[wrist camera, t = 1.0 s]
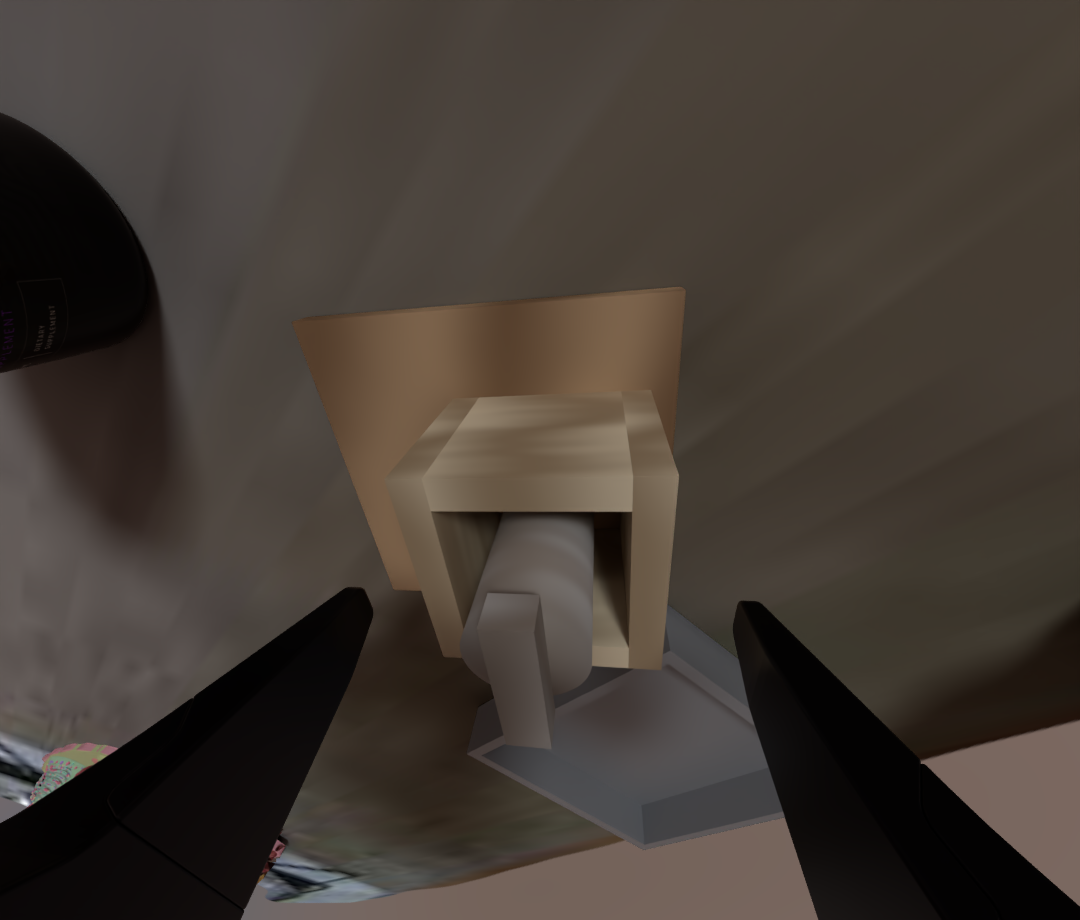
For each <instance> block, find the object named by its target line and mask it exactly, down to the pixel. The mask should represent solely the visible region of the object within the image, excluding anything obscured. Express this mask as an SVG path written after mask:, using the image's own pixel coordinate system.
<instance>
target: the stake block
mask: <svg viewBox="0 0 1080 920" xmlns="http://www.w3.org/2000/svg"><path fill="white" fill-rule="evenodd" d="M685 294H686V290H685V289H683V288H682V287H670V288H658V289H645V290H633V291H621V292H609V293H597V294H584V295H572V296H560V297H548V298H535V299H523V300H511V301H499V302H487V303H474V304H462V305H450V306H438V307H426V308H413V309H401V310H389V311H377V312H364V313H352V314H340V315H328V316H316V317H306V318H303V319H300V320H296V321H293V322H292V324H293V327H294V330H295V332H296V335H297V337H298V340H299V343H300V345H301V348H302V351H303V353H304V356H305V358H306V361H307V364H308V366H309V369H310V371H311V374H312V377H313V379H314V382H315V385H316V387H317V390H318V392H319V395H320V398H321V400H322V403H323V406H324V408H325V411H326V413H327V416H328V419H329V421H330V424H331V426H332V429H333V432H334V434H335V437H336V440H337V442H338V445H339V447H340V450H341V453H342V455H343V458H344V461H345V463H346V466H347V468H348V471H349V474H350V476H351V479H352V482H353V484H354V487H355V489H356V492H357V495H358V497H359V500H360V502H361V505H362V508H363V510H364V513H365V516H366V518H367V521H368V523H369V526H370V529H371V531H372V534H373V537H374V539H375V542H376V544H377V547H378V550H379V552H380V555H381V557H382V560H383V563H384V565H385V568H386V571H387V573H388V576H389V578H390V581H391V584H392V586H393V589H394V590H414V591H421V588H420V585H419V582H418V579H417V576H416V573H415V570H414V567H413V564H412V561H411V558H410V555H409V552H408V549H407V546H406V543H405V540H404V537H403V534H402V531H401V528H400V525H399V522H398V519H397V516H396V513H395V510H394V507H393V504H392V501H391V498H390V495H389V492H388V489H387V486H386V483H385V480H384V479H385V478H386V476H387V475H388V474H389V473H390V472H391V471H392V469H393V468H394V467H395V466H396V465H397V464H398V462H399V461H400V460H401V459H402V458H403V457H404V455H405V454H406V453H407V452H408V451H409V450H410V448H411V447H412V446H413V445H414V444H415V443H416V441H417V440H418V439H419V438H420V437H421V436H422V434H423V433H424V432H425V431H426V430H427V429H428V427H429V426H430V425H431V424H432V423H433V422H434V420H435V419H436V418H437V417H438V416H439V415H440V413H441V412H442V411H443V410H444V409H445V408H446V406H447V405H448V404H449V403H450V402H451V401H452V399H457V398H479V397H502V396H525V395H548V394H570V393H593V392H616V391H639V390H651V392H652V395H653V398H654V401H655V404H656V407H657V410H658V413H659V416H660V419H661V422H662V425H663V428H664V431H665V435H666V438H667V441H668V444H669V447H670V450H671V453H672V456H673V445H674V432H675V419H676V407H677V394H678V382H679V369H680V356H681V344H682V331H683V319H684V306H685ZM499 513H500V518H501V520H500V523H499V526H498V529H497V532H496V535H495V538H494V541H493V544H492V547H491V550H490V553H489V556H488V559H487V562H486V565H485V568H484V571H483V574H482V577H481V580H480V583H479V586H478V589H477V592H476V595H475V598H474V601H473V604H472V607H471V610H470V613H469V616H468V619H467V622H466V625H465V627H464V630H463V633H462V636H461V640H460V652H461V655H462V658H463V660H464V662H465V663H466V665H467V666H468V667H469V669H470V670H471V671H472V672H473V673H474V674H475V675H477V676H478V677H479V678H480V679H482V680H483V681H485V682H486V683H488V684H490V685H491V688H492V692H493V696H494V700H495V703H496V707H497V711H498V715H499V719H500V723H501V727H502V731H503V735H504V738H505V742H506V745H512V746H523V747H534V748H544V749H552V741H553V729H554V718H555V705H554V698H553V696H554V695H559V694H563V693H566V692H569V691H571V690H573V689H575V688H577V687H578V686H580V685H581V684H582V683H583V682H584V681H585V680H586V679H587V677H588V676H589V674H590V672H591V668H592V633H593V565H594V529H620V512H499Z"/></svg>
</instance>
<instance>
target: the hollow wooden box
mask: <svg viewBox="0 0 1080 920" xmlns="http://www.w3.org/2000/svg"><path fill="white" fill-rule="evenodd" d="M384 480H385V483H386V486H387V489H388V492H389V495H390V498H391V501H392V504H393V507H394V510H395V513H396V516H397V519H398V522H399V525H400V528H401V531H402V534H403V537H404V540H405V543H406V546H407V549H408V552H409V555H410V558H411V561H412V564H413V567H414V570H415V573H416V576H417V579H418V582H419V585H420V588H421V591H422V594H423V597H424V600H425V603H426V606H427V609H428V612H429V615H430V618H431V621H432V624H433V627H434V630H435V633H436V636H437V639H438V642H439V645H440V648H441V651H442V654H443V657H453V658H462V655H461V652H460V640H461V636H462V633H463V630H464V627H465V625H466V622H467V619H468V616H469V613H470V610H471V607H472V604H473V601H474V598H475V595H476V592H477V589H478V586H479V583H480V580H481V577H482V574H483V571H484V568H485V565H486V562H487V559H488V556H489V553H490V550H491V547H492V544H493V541H494V538H495V535H496V532H497V529H498V526H499V523H500V520H501V518H500V513H499V512H620V529H594V565H593V633H592V666H600V667H616V668H633V669H649V670H661V668H662V657H663V646H664V635H665V624H666V613H667V602H668V591H669V580H670V569H671V558H672V547H673V536H674V525H675V514H676V503H677V492H678V481H679V474H678V471H677V468H676V465H675V462H674V459H673V456H672V453H671V450H670V447H669V444H668V441H667V438H666V435H665V431H664V428H663V425H662V422H661V419H660V416H659V413H658V410H657V407H656V404H655V401H654V398H653V395H652V392H651V390H639V391H616V392H593V393H570V394H548V395H525V396H502V397H479V398H457V399H452V401H451V402H450V403H449V404H448V405H447V406H446V408H445V409H444V410H443V411H442V412H441V413H440V415H439V416H438V417H437V418H436V419H435V420H434V422H433V423H432V424H431V425H430V426H429V427H428V429H427V430H426V431H425V432H424V433H423V434H422V436H421V437H420V438H419V439H418V440H417V441H416V443H415V444H414V445H413V446H412V447H411V448H410V450H409V451H408V452H407V453H406V454H405V455H404V457H403V458H402V459H401V460H400V461H399V462H398V464H397V465H396V466H395V467H394V468H393V469H392V471H391V472H390V473H389V474H388V475H387V476H386V478H385V479H384Z"/></svg>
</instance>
